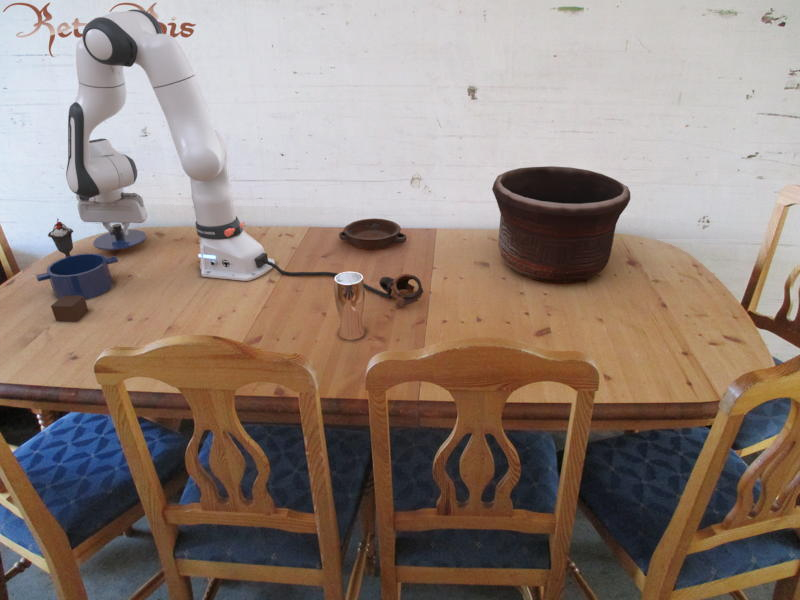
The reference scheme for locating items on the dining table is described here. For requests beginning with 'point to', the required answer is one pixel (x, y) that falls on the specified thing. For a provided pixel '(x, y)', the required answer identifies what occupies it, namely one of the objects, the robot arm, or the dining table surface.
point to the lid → (119, 239)
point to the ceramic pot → (558, 221)
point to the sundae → (62, 238)
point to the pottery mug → (402, 288)
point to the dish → (373, 233)
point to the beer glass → (350, 304)
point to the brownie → (69, 308)
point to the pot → (80, 275)
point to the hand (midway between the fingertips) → (119, 234)
